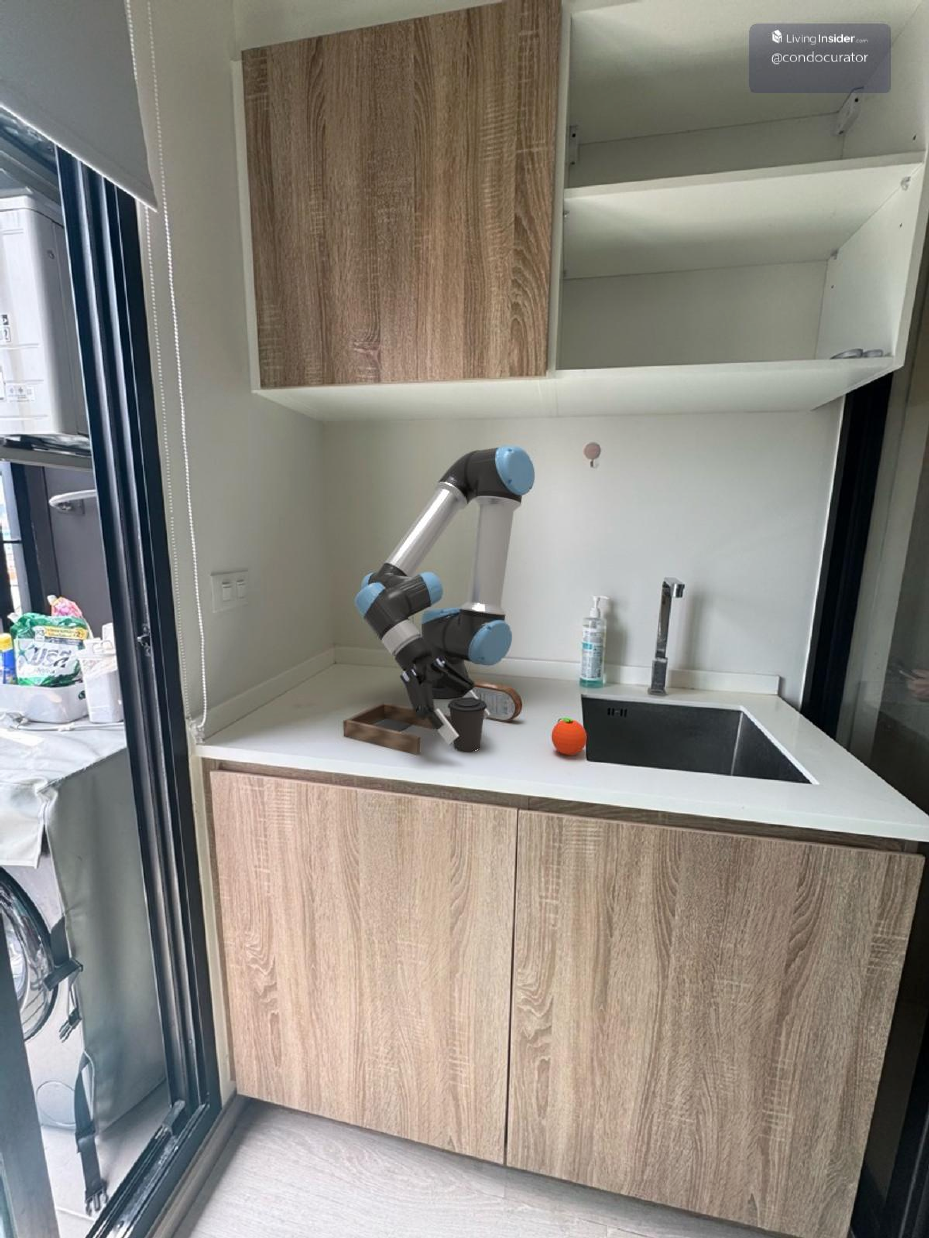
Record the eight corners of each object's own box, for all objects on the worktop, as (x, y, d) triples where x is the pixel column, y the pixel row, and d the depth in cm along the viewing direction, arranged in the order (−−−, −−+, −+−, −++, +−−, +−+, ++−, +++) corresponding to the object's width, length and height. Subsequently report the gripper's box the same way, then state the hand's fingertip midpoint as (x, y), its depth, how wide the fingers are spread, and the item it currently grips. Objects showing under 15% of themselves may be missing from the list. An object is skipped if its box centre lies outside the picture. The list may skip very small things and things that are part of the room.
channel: (343, 736, 113) (343, 720, 112) (383, 716, 125) (383, 702, 124) (417, 754, 104) (417, 738, 103) (452, 731, 116) (452, 716, 115)
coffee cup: (484, 738, 112) (485, 693, 111) (488, 754, 104) (489, 706, 103) (446, 739, 112) (446, 694, 110) (448, 755, 104) (448, 707, 102)
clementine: (541, 747, 108) (542, 714, 107) (570, 742, 111) (571, 710, 110) (562, 763, 101) (564, 728, 100) (593, 757, 103) (594, 723, 102)
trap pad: (355, 735, 113) (355, 734, 113) (386, 719, 123) (386, 718, 123) (381, 742, 110) (381, 740, 110) (411, 725, 119) (411, 724, 119)
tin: (522, 722, 122) (523, 687, 121) (516, 726, 120) (517, 690, 118) (466, 710, 130) (466, 677, 128) (460, 714, 127) (460, 680, 126)
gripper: (429, 646, 122) (486, 719, 118) (359, 671, 101) (425, 761, 96) (449, 626, 119) (508, 700, 114) (381, 647, 97) (450, 740, 93)
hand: (470, 728), depth 105 cm, fingers open, 13 cm apart
